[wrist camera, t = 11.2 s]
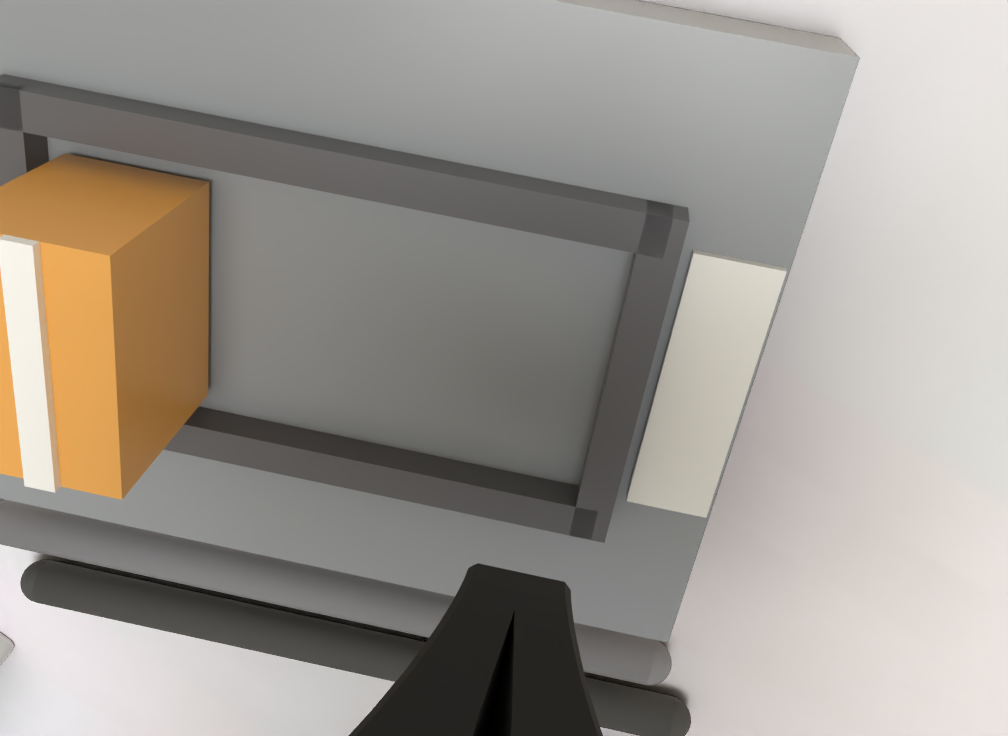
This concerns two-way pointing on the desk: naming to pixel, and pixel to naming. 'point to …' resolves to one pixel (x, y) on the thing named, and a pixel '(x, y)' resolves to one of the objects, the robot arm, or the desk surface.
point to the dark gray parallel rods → (301, 589)
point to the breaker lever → (99, 321)
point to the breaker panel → (451, 268)
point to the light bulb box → (5, 647)
